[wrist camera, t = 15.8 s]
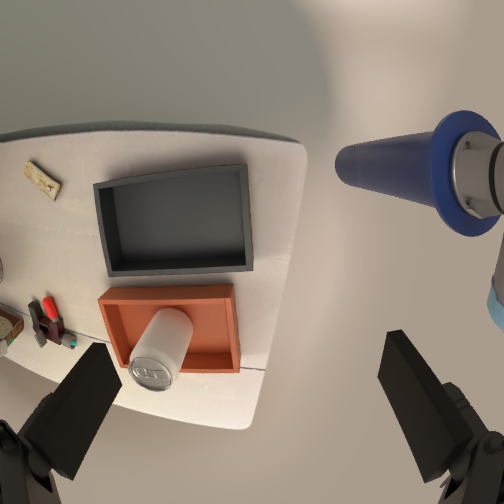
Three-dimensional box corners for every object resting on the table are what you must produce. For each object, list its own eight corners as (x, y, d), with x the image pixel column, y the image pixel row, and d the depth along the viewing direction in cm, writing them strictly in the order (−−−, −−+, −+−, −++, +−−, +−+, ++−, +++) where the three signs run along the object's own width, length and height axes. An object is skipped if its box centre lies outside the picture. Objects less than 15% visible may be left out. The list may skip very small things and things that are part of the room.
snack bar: (23, 175, 33) (24, 161, 32) (29, 172, 35) (30, 158, 33) (54, 202, 35) (56, 187, 33) (60, 198, 36) (62, 183, 34)
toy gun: (82, 348, 44) (70, 363, 39) (37, 327, 43) (24, 338, 38) (78, 306, 41) (64, 319, 36) (32, 286, 40) (17, 296, 35)
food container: (1, 327, 44) (-23, 347, 34) (-5, 305, 42) (-31, 324, 33) (33, 343, 44) (8, 368, 35) (27, 320, 43) (0, 344, 33)
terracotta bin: (233, 284, 39) (230, 297, 35) (240, 355, 43) (239, 373, 38) (110, 287, 40) (97, 299, 35) (129, 352, 43) (120, 367, 39)
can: (150, 305, 40) (118, 352, 28) (191, 306, 40) (169, 356, 28) (158, 340, 42) (133, 390, 30) (196, 342, 42) (179, 396, 30)
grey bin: (247, 164, 34) (246, 163, 30) (253, 259, 38) (253, 271, 34) (108, 181, 35) (92, 184, 31) (121, 266, 38) (108, 277, 34)
